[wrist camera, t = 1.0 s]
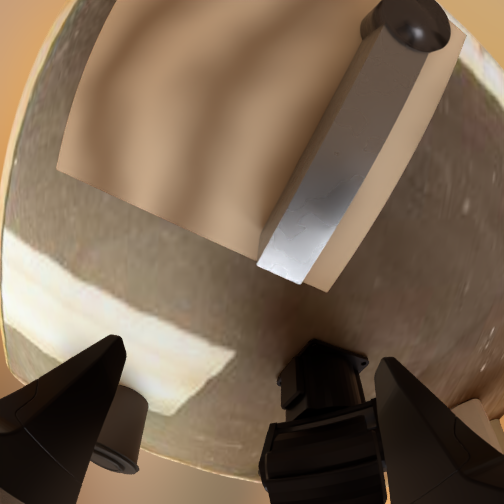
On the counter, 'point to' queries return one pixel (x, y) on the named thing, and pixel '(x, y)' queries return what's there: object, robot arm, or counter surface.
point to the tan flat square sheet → (231, 114)
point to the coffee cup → (122, 433)
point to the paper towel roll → (477, 421)
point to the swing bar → (351, 132)
